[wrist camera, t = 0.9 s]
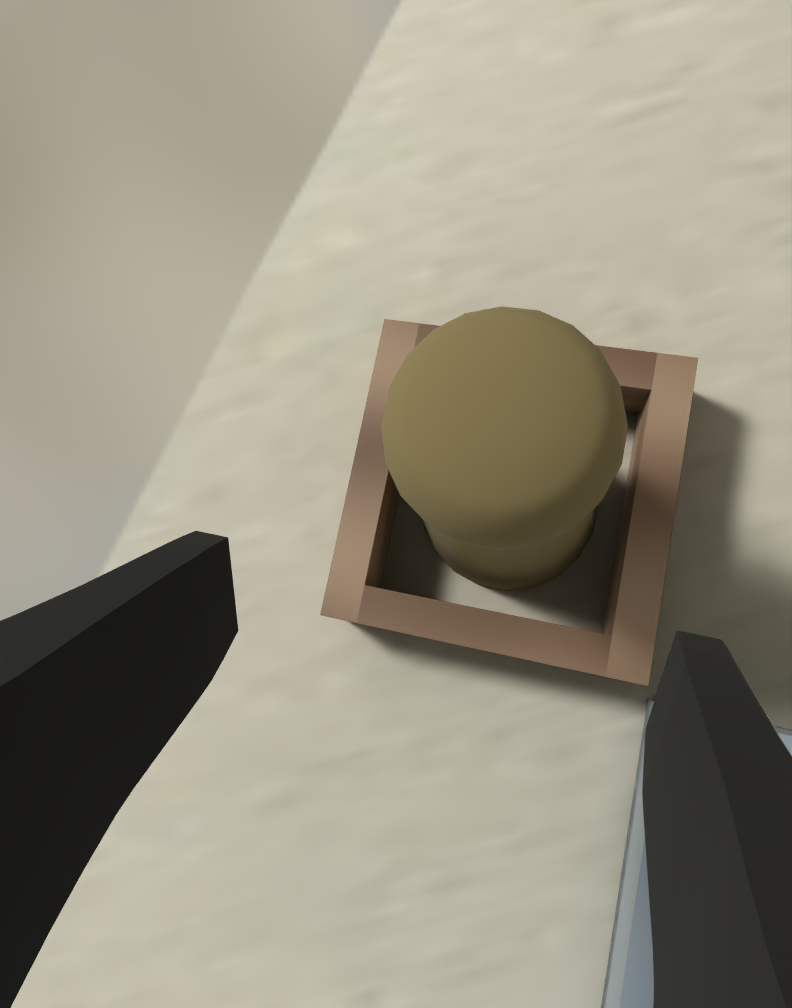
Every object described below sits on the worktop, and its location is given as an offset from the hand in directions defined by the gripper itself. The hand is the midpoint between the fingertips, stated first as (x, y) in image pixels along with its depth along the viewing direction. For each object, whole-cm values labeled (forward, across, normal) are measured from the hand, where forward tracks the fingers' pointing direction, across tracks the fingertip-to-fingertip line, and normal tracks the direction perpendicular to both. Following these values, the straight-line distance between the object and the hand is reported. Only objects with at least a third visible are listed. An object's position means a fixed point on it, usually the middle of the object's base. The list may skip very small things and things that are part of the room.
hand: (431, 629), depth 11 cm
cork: (+13, 0, +5) cm, 14 cm away
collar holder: (+13, 0, +5) cm, 13 cm away
